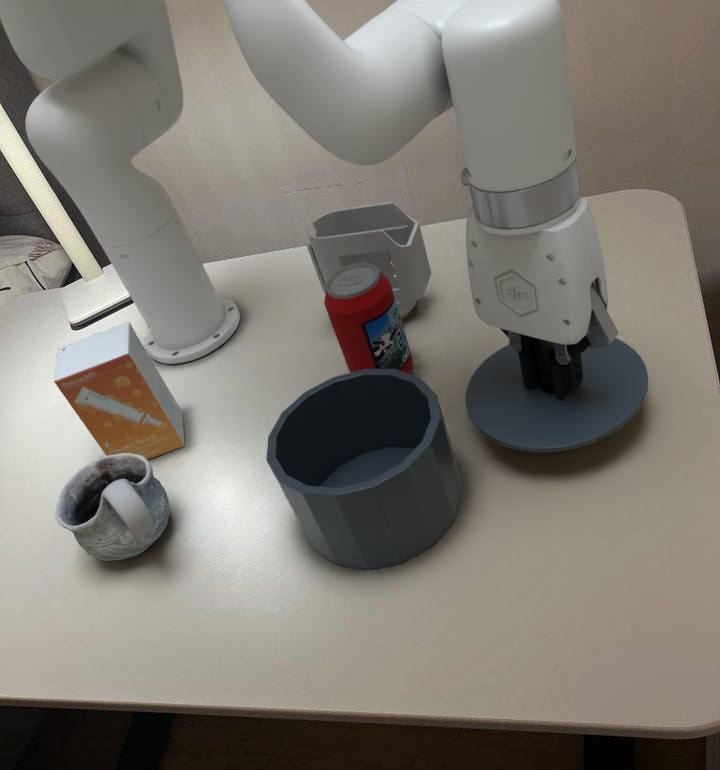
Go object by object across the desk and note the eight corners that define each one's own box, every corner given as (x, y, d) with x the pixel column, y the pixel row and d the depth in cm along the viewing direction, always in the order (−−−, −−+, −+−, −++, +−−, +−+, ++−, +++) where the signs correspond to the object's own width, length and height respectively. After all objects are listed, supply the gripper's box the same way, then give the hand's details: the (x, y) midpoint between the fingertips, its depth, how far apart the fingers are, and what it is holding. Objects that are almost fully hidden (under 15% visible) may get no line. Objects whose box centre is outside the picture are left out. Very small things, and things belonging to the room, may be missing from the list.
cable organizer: (429, 324, 86) (403, 227, 78) (327, 332, 91) (293, 242, 83) (440, 289, 90) (416, 194, 82) (342, 298, 95) (311, 209, 87)
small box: (117, 473, 84) (51, 382, 75) (118, 437, 88) (55, 347, 79) (187, 446, 83) (128, 352, 74) (184, 412, 88) (128, 319, 79)
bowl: (273, 527, 71) (233, 456, 65) (375, 427, 77) (347, 352, 70) (389, 596, 62) (355, 521, 56) (495, 477, 68) (476, 396, 61)
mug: (142, 488, 81) (92, 418, 74) (224, 522, 74) (177, 449, 67) (75, 556, 76) (15, 488, 69) (155, 600, 69) (97, 530, 62)
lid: (433, 423, 70) (418, 374, 66) (530, 324, 76) (522, 273, 72) (585, 481, 61) (578, 427, 57) (682, 362, 67) (682, 306, 63)
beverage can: (410, 392, 79) (379, 294, 71) (348, 398, 81) (311, 303, 73) (419, 351, 83) (391, 253, 75) (360, 357, 86) (327, 263, 77)
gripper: (407, 203, 59) (455, 386, 71) (597, 233, 49) (614, 440, 61) (466, 154, 62) (502, 338, 74) (657, 172, 52) (662, 382, 64)
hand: (553, 383), depth 68 cm, fingers closed on lid, 2 cm apart
